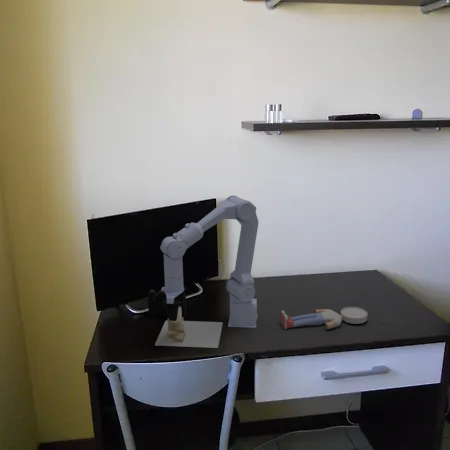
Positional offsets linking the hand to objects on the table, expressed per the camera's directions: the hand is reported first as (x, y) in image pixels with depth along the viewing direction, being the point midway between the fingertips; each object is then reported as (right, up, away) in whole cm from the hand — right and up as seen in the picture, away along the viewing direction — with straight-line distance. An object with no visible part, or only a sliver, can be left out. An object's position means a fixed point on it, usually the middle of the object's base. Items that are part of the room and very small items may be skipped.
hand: (175, 314), depth 155 cm
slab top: (0, -5, +1) cm, 5 cm away
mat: (+4, -7, +5) cm, 10 cm away
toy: (+50, -5, +13) cm, 52 cm away
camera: (-4, -3, +21) cm, 22 cm away
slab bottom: (0, -8, +2) cm, 8 cm away
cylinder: (0, -2, +1) cm, 2 cm away
